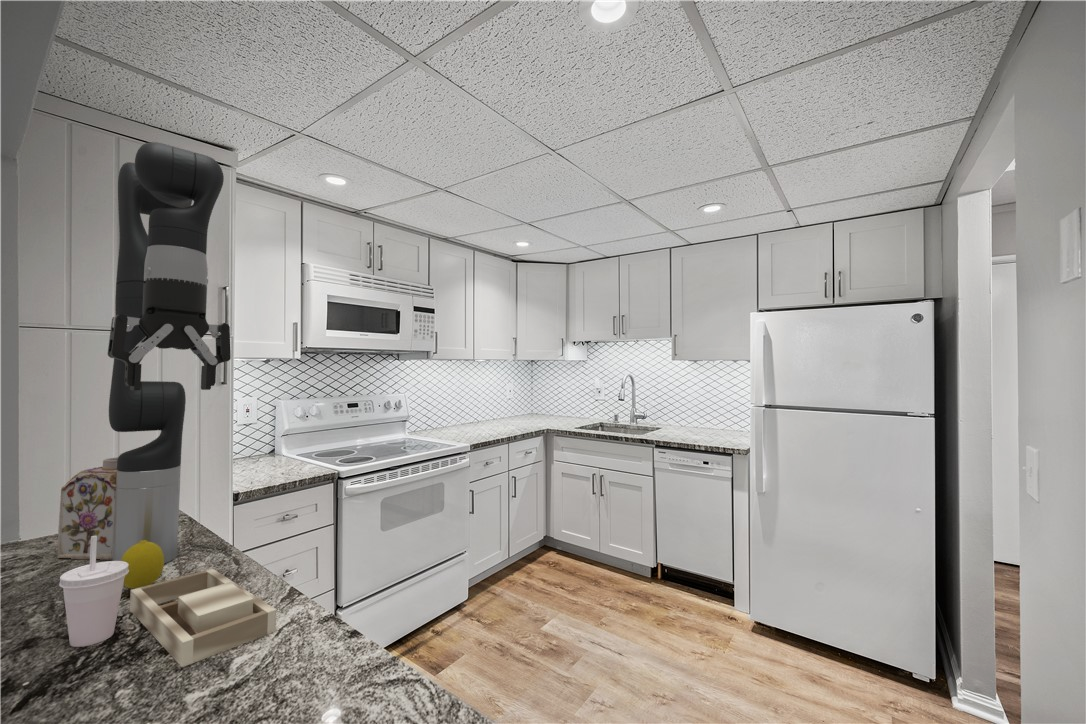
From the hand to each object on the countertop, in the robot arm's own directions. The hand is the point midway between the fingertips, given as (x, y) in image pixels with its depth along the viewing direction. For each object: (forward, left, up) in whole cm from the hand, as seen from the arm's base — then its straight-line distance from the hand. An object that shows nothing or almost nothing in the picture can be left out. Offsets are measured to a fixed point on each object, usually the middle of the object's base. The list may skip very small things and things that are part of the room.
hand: (171, 389), depth 71 cm
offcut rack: (+10, +2, -32) cm, 34 cm away
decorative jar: (-39, +2, -32) cm, 51 cm away
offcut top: (+14, +2, -29) cm, 32 cm away
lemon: (-11, 0, -32) cm, 34 cm away
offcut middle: (+15, +2, -31) cm, 34 cm away
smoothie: (+5, -8, -32) cm, 34 cm away
